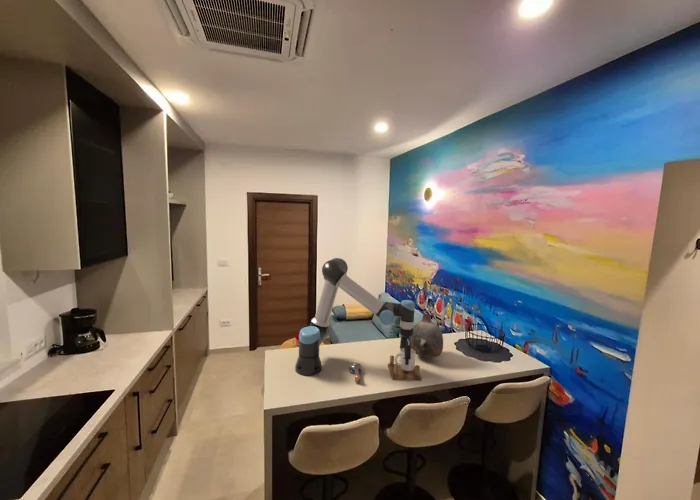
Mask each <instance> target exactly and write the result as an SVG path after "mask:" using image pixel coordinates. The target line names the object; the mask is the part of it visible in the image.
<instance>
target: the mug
mask: <svg viewBox="0 0 700 500" xmlns="http://www.w3.org/2000/svg"><path fill="white" fill-rule="evenodd" d="M400 349H401V348H400ZM416 355H417V354H416V351H415V350H414V349H411V359H409V370H405V371H412V370H414V368H415V366H416ZM400 356H401V359H400ZM398 358H399V362H398ZM404 358H405V349H404V348H402V349H401V350H400V352H399V353H397V354H396V355H394V364H397V365H399V366H400V367H401V369H403V370H404Z"/></svg>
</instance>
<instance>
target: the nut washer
mask: <svg viewBox="0 0 700 500" xmlns="http://www.w3.org/2000/svg"><path fill="white" fill-rule="evenodd" d="M349 373H350V374H352V375H355V372H354V371H351V370H350V368H349ZM358 373H359V375H360V374H362V369H361V370H360V371H358Z"/></svg>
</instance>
